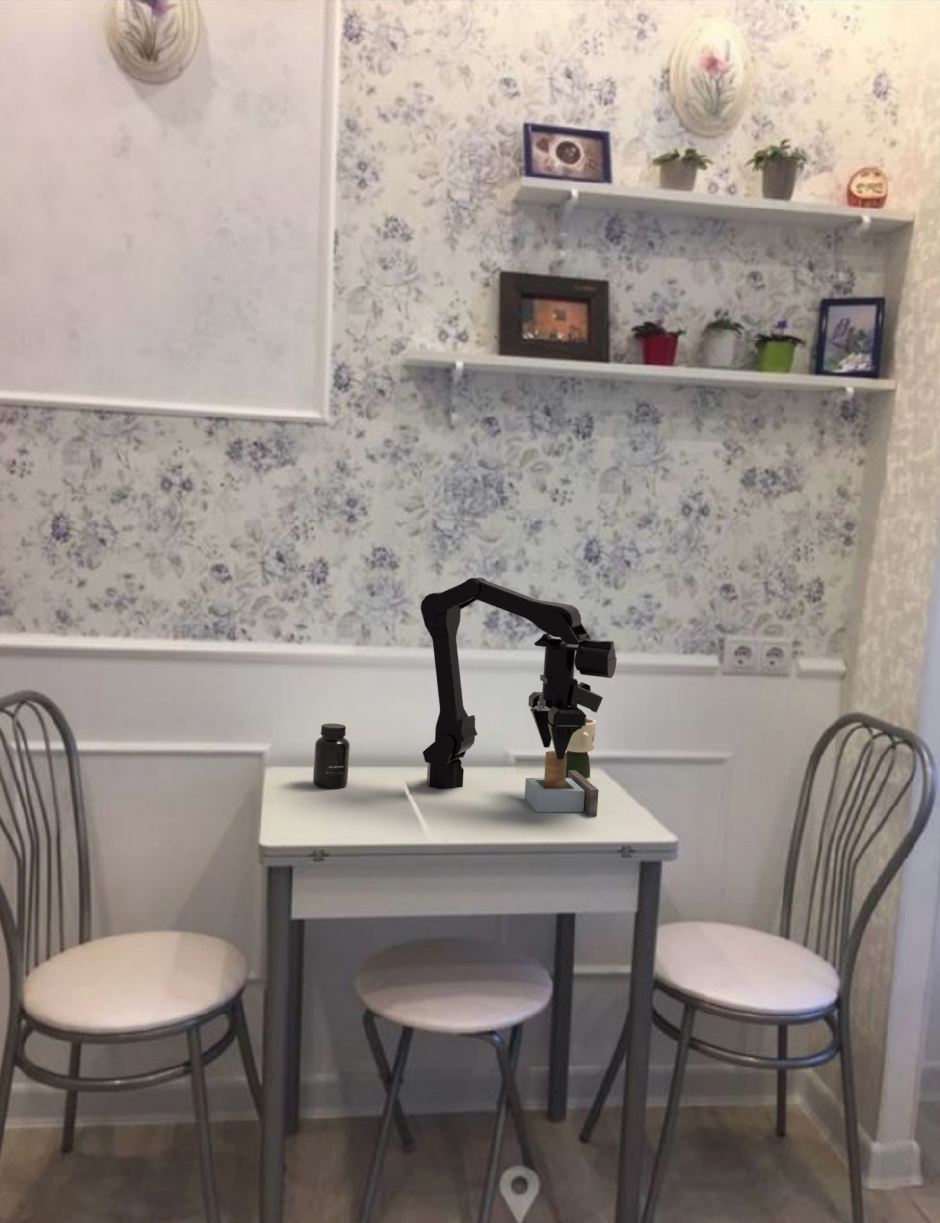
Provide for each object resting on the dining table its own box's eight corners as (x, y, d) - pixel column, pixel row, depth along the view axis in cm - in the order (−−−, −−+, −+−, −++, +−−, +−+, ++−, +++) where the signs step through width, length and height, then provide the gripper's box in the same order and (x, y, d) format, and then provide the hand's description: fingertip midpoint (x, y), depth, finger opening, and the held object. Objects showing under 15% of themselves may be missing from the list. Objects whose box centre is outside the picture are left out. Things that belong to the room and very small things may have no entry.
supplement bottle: (333, 791, 200) (336, 730, 198) (305, 785, 203) (308, 725, 202) (354, 784, 206) (357, 725, 204) (327, 778, 209) (329, 720, 208)
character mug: (599, 786, 214) (604, 725, 213) (567, 787, 213) (571, 725, 211) (582, 773, 225) (586, 714, 224) (551, 773, 223) (555, 714, 222)
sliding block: (536, 812, 190) (538, 790, 189) (524, 798, 198) (525, 778, 198) (583, 811, 191) (584, 790, 191) (569, 798, 200) (570, 778, 200)
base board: (501, 822, 186) (503, 789, 185) (484, 800, 199) (486, 769, 199) (596, 821, 189) (598, 789, 189) (573, 800, 203) (575, 770, 203)
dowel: (546, 808, 193) (548, 755, 192) (540, 802, 196) (543, 751, 196) (566, 808, 193) (569, 755, 192) (560, 802, 197) (563, 751, 196)
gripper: (616, 681, 186) (609, 766, 187) (584, 665, 204) (579, 742, 205) (556, 680, 183) (550, 765, 185) (530, 663, 202) (525, 741, 203)
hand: (553, 753), depth 195 cm, fingers open, 9 cm apart
